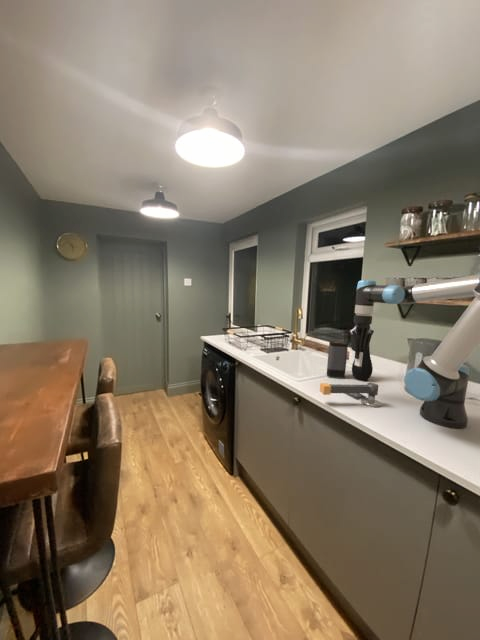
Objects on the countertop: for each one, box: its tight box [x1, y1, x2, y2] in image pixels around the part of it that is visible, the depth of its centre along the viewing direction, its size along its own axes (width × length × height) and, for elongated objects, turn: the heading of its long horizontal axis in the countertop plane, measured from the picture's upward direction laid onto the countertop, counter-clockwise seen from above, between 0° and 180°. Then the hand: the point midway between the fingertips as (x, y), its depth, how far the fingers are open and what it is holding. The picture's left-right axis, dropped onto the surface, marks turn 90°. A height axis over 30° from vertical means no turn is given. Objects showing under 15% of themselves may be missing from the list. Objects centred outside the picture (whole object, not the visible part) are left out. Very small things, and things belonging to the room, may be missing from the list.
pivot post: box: [360, 394, 382, 408], centre depth 119 cm, size 8×8×4 cm
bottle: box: [351, 346, 374, 382], centre depth 152 cm, size 11×11×30 cm
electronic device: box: [326, 340, 349, 380], centre depth 154 cm, size 9×6×20 cm, turn 84°
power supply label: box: [344, 393, 368, 400], centre depth 128 cm, size 8×6×1 cm
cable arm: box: [319, 382, 379, 396], centre depth 118 cm, size 25×4×4 cm, turn 97°
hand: (358, 365), depth 126 cm, fingers closed
